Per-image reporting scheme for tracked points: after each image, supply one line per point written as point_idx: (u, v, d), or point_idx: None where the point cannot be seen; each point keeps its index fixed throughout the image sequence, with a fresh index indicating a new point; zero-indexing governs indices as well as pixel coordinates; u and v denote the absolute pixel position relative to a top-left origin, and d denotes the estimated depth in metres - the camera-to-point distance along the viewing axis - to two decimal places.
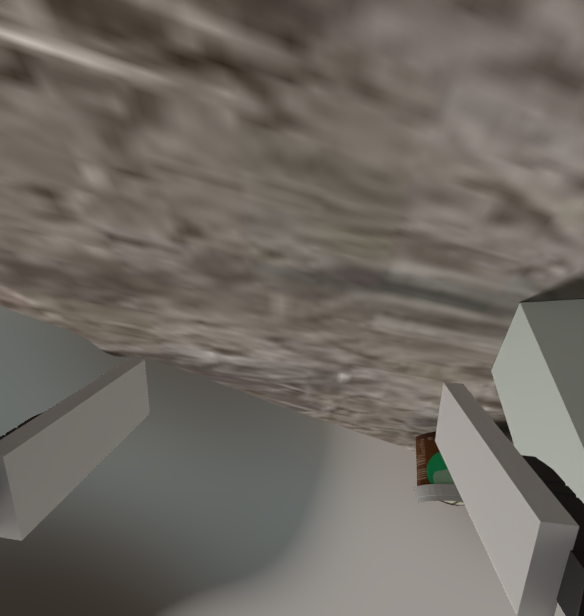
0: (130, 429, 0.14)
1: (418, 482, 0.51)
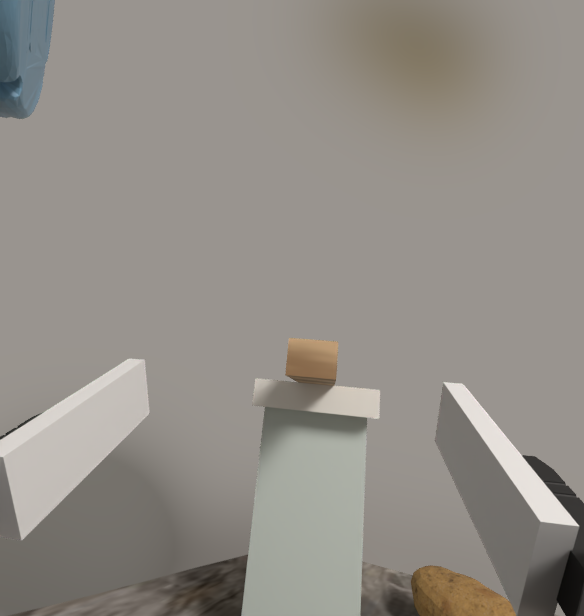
0: (130, 429, 0.14)
1: None
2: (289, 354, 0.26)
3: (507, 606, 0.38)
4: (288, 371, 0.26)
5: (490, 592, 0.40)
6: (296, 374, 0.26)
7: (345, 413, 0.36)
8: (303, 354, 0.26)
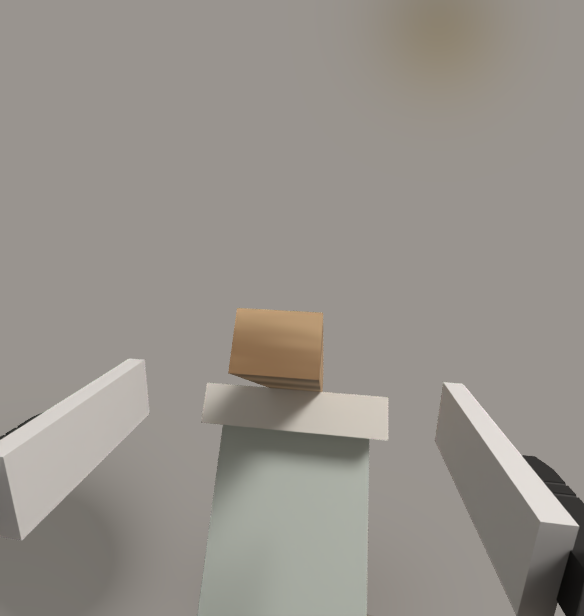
0: (130, 429, 0.14)
1: None
2: (236, 336, 0.15)
3: None
4: (234, 366, 0.14)
5: None
6: (248, 371, 0.14)
7: (338, 433, 0.24)
8: (260, 336, 0.15)
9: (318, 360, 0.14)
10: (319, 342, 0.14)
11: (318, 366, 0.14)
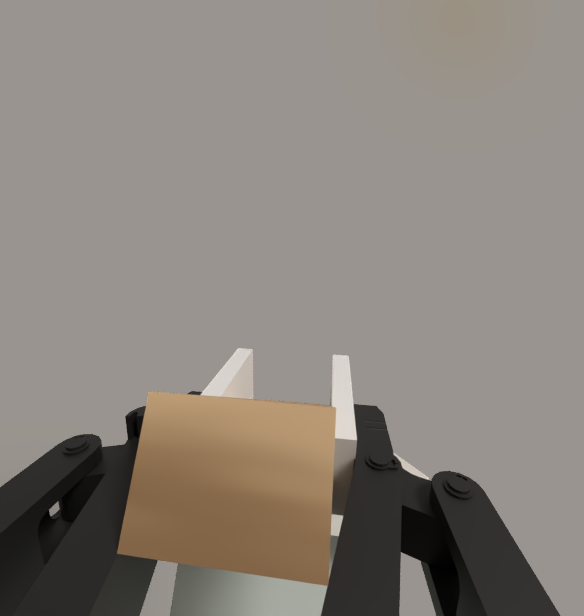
0: None
1: None
2: (143, 460, 0.07)
3: None
4: (131, 537, 0.06)
5: None
6: (162, 552, 0.06)
7: None
8: (195, 461, 0.07)
9: (326, 531, 0.06)
10: (328, 482, 0.06)
11: (326, 547, 0.06)
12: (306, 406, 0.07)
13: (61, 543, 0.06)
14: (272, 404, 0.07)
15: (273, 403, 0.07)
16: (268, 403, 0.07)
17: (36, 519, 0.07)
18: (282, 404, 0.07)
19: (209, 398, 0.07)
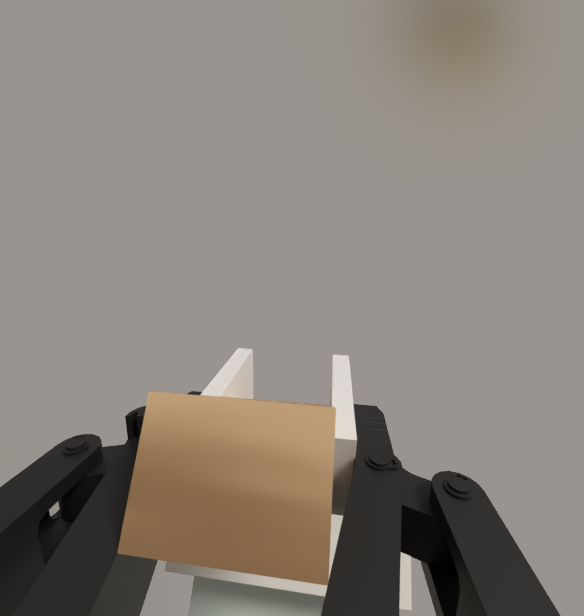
0: None
1: None
2: (143, 460, 0.07)
3: None
4: (131, 537, 0.06)
5: None
6: (162, 552, 0.06)
7: None
8: (195, 460, 0.07)
9: (326, 531, 0.06)
10: (328, 482, 0.06)
11: (326, 546, 0.06)
12: (306, 406, 0.07)
13: (61, 543, 0.06)
14: (272, 404, 0.07)
15: (273, 403, 0.07)
16: (268, 403, 0.07)
17: (36, 519, 0.07)
18: (282, 404, 0.07)
19: (209, 398, 0.07)
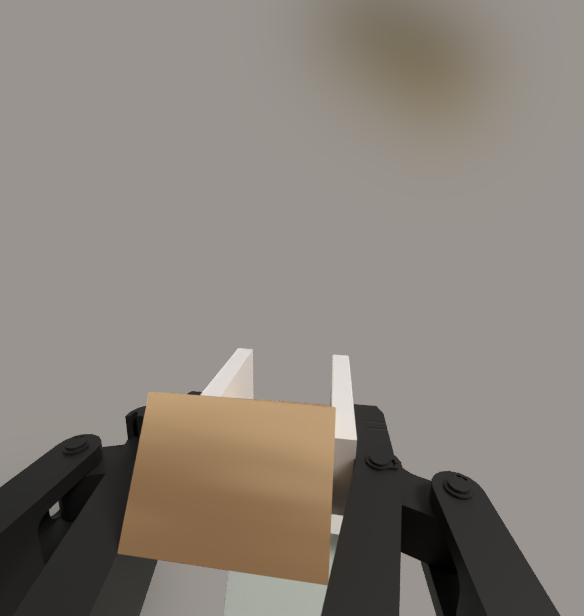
0: None
1: None
2: (143, 460, 0.07)
3: None
4: (131, 537, 0.06)
5: None
6: (162, 552, 0.06)
7: (337, 531, 0.27)
8: (195, 460, 0.07)
9: (326, 531, 0.06)
10: (328, 482, 0.06)
11: (326, 546, 0.06)
12: (306, 406, 0.07)
13: (61, 543, 0.06)
14: (272, 404, 0.07)
15: (273, 403, 0.07)
16: (268, 403, 0.07)
17: (35, 519, 0.07)
18: (282, 404, 0.07)
19: (209, 398, 0.07)
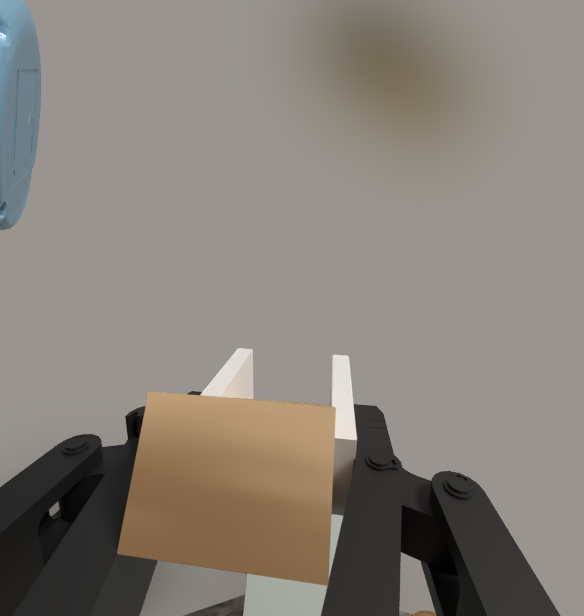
0: None
1: None
2: (143, 460, 0.07)
3: None
4: (130, 537, 0.06)
5: None
6: (161, 552, 0.06)
7: None
8: (195, 461, 0.07)
9: (326, 531, 0.06)
10: (328, 482, 0.06)
11: (326, 546, 0.06)
12: (306, 406, 0.07)
13: (61, 543, 0.06)
14: (272, 404, 0.07)
15: (273, 403, 0.07)
16: (268, 403, 0.07)
17: (36, 519, 0.07)
18: (282, 404, 0.07)
19: (209, 398, 0.07)
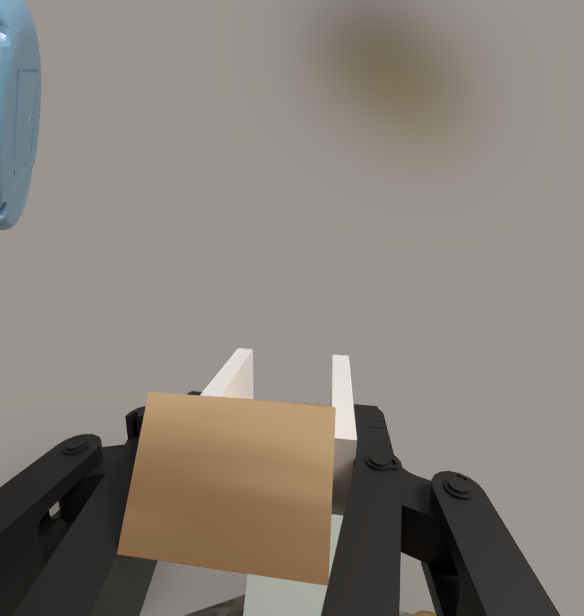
0: None
1: None
2: (142, 460, 0.07)
3: None
4: (130, 537, 0.06)
5: None
6: (161, 553, 0.06)
7: None
8: (195, 460, 0.07)
9: (326, 531, 0.06)
10: (328, 482, 0.06)
11: (326, 547, 0.06)
12: (305, 406, 0.07)
13: (61, 543, 0.06)
14: (271, 404, 0.07)
15: (272, 403, 0.07)
16: (267, 403, 0.07)
17: (35, 519, 0.07)
18: (281, 404, 0.07)
19: (208, 398, 0.07)
